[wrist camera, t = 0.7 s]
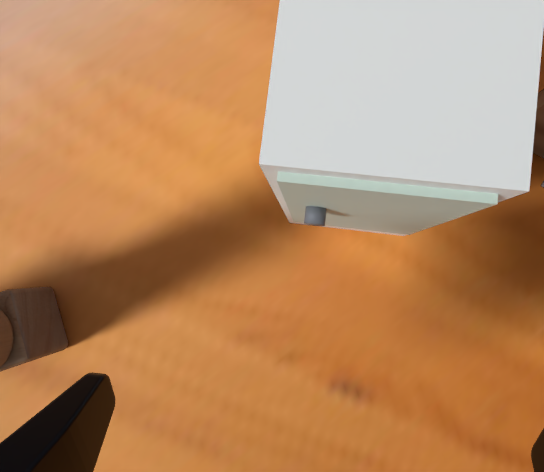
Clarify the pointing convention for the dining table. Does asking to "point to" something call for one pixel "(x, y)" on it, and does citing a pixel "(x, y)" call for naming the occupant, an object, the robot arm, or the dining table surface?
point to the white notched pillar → (400, 110)
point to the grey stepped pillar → (29, 326)
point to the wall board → (539, 127)
